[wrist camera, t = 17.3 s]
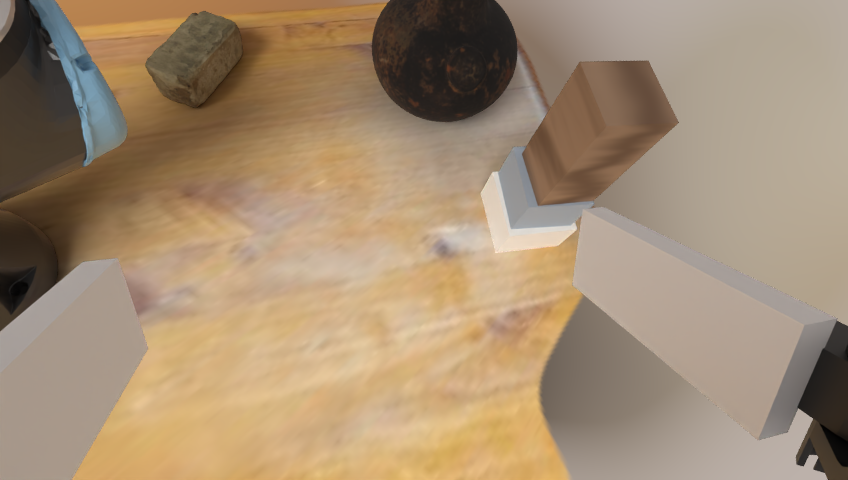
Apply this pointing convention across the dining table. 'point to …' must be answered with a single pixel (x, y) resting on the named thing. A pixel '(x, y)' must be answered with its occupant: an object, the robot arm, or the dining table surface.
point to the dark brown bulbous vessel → (444, 56)
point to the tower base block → (516, 238)
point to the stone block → (196, 58)
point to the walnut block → (596, 130)
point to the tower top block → (532, 198)
